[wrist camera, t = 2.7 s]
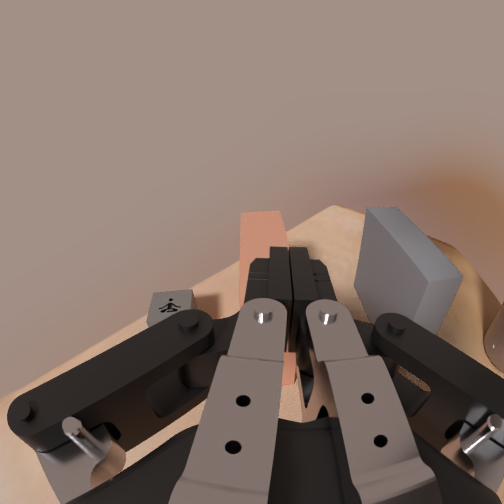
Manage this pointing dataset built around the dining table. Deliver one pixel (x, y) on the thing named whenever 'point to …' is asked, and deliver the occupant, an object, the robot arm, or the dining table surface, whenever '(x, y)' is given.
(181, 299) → the dice cube
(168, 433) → the dining table surface
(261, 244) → the terracotta slab
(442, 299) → the slate slab
